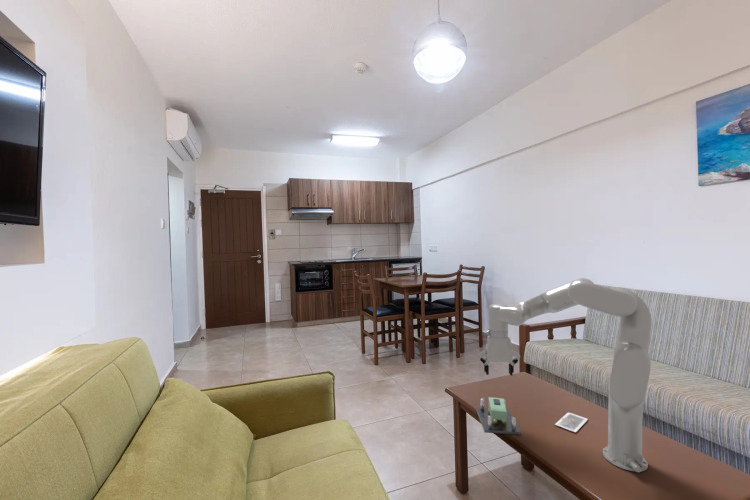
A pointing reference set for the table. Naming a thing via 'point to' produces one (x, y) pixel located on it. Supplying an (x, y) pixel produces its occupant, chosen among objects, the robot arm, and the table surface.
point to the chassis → (496, 421)
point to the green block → (497, 408)
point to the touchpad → (571, 422)
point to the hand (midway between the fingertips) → (498, 373)
